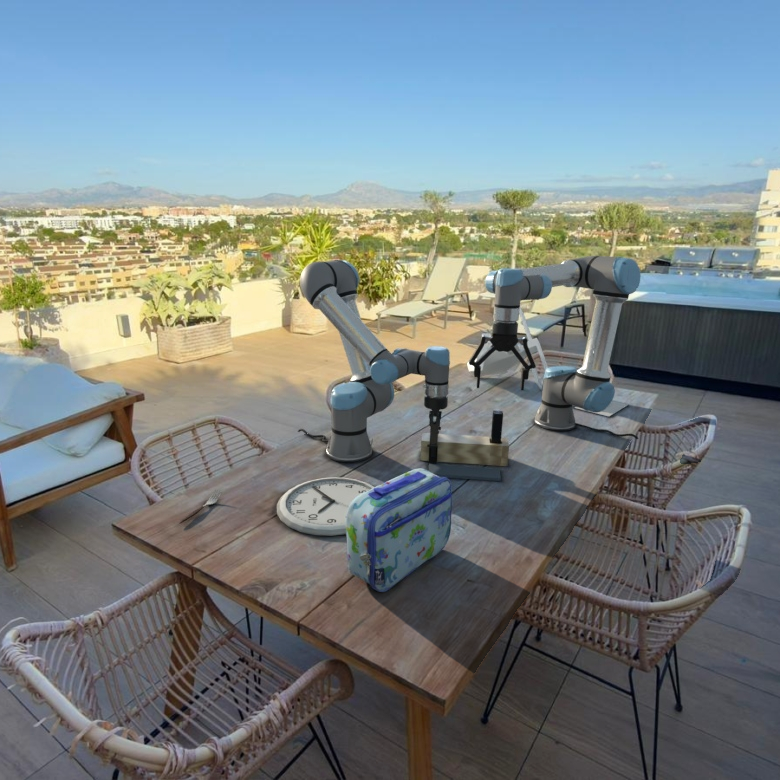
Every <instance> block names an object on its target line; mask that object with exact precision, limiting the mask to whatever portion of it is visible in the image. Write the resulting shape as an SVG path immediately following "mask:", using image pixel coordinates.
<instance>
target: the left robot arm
mask: <svg viewBox="0 0 780 780" xmlns="http://www.w3.org/2000/svg"><path fill="white" fill-rule="evenodd" d="M359 283H360V275H359V272H358V270H357V269H356V267H355V266H354V265H353V264H352V263H350V262H349V261H347V260H341V259H334V260H325V261H324V260H323V261H313V262H310V263H309V264H307V265H306V266H305V267H304V268H303V270H302V271H301V274H300V278H299V286H300V289H301V292H302V294H303V296H304V298H305V300H306V301H307V302H308V303H309V304H310V305H311V307H312V308H313V309H315V310H319V311H320V312H321V313H322V314H323V315H324V316H325V318H326V319H327V320H328V321H329V322H330V323H331V324H332V325H333V327H334V328H335V329H336V330H337V332H338V333H339V336H340V340H341V343H342V346H343V349H344V352H345V355H346V358H347V362H348V365H349V368H350V371H351V374H352V375H351V378H350V380H349V381H348V382H343V383H340V384H337V385H336V386H334V387H333V389H332V390H331V394H330V418H331V432H330V436H329V438H328V439H326V438H327V437H326V436H325V435H324V434H316V435H313V434H311V433H309V432H308V431H307V430H305V429H304V428H299V429H298V430H297V432H298V433H300V432H303V433H304V434H305V435H306V436H308V437H309V438H313V439H315V438H322V439H321V441H322V442H323V443H327V445H326V451H325V452H326V456H327V458H329V459H330V460H332V461H335V462H339V463H348V464H349V463H358V462H362V461H365V460H367V459H369V458H370V457H372V454H373V447H372V445H373V442H374V439H373V438H371V441H370V437H369V435H368V429H367V427H368V418H370V417H372V416H373V415H375V414H377V413H381V412H383V411H385V410H386V409H387V408H389V407H390V406H391V404H392V403H393V401H394V398H395V388H394V385H393V383H394V382H396V381H397V380H399V379H402V378H404V377H406V376H409V375H418V376H424V384H422V388H424V394H425V395H424V396H423V406H424V407H425V408H426V409H428V410H429V411H428V412H429V413H428V419H429V420H428V421H429V423H428V426H429V428H430V429H429V433H430V444H429V445H428V444H427V447H429V461H428V466H429V464H438V462H437V453H438V445H437V442H438V434H440V431H442V426H441V421H442V411H441V410H445V409H446V408H448V401H449V386H450V383H449V378H450V377H449V376H450V365H451V361H450V360H451V359H450V357H451V355H450V354H451V353H450V350H449V349H448V348H447V347H444V346H435V345H433V346H429V347H427V348H426V349H425V351H422V350H421V351H420V350H415V349H409V348H395V349H394V350H393V351H392V352H391V351H389V349H388V348H387V347H386V346H385V345H384V343H382V342H381V341H380V339H379V338H378V337H377V336H376V335H375V333H373V332H372V330H371V329H369V327H368V326H367V325H366V324H365V323H364V321H362V317H361V315H360V312H359V308H358V305H357V302H356V300H357V298H358V296H359V294H358V290H357V289H358V287H359ZM307 433H308V434H307Z"/></svg>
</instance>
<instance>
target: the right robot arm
mask: <svg viewBox="0 0 780 780" xmlns="http://www.w3.org/2000/svg"><path fill="white" fill-rule="evenodd" d="M641 277H642V276H641V268H640V267H639V264H638V262H637V261H636V260H634V259H633V258H630V257H623V256H607V255H605V256H603V255H589V256H583V257H577V258H572V259H566V260H564V261H562V262H561V263H558V264H557V263H555V264H550V265H544V266H543V265H542V266H535V267H526V268H500V269H498V270H492V271H490V272H489V273H488V274H487V275H486V277H485V279H484V280H485V281H484V286H485V289H486V290H487V292H488V293H490V294H494V306H493V317H492V319H493V321H492V327H491V328H492V329H491V337H487V336H485V335H482V334H481V336H480V337H481V338H480V342H479V343H478V345H477V347H476V349H475V350H474V352H473V353H472V355H471V356H470V359H469V360H468V362H469V365H472V366H474V377H473V378H476V389H480V385H481V384H480V383H481V376H480V372H481V366H480V365H481V364H482V363H483V362H484V361H485V360H486V359H487V358H488V357H489V356H490V355H491V354H492V353H493V352H494V351H495V350H497V351H498V352H501V351H505V352H509V351H511V350H512V352H513V353H514V354H515V356H516V357H517V358H518V360H519V361H520V362H519V363H520V364H521V365H522V366H523V367H522V368H521V376H520V384H519V390H520V391H521V392H523V391H525V381H526V380H529V375H530V370H532V368H535V367H536V368H537V366H536V364H535V363H536V362H535V361H534V358H533V355H532V354H531V353H530V351H529V348H528V346H527V341H528V338H527V336H522V337H518V331H519V330H518V329H519V323H518V321H519V320H520V314H519V309H520V308H521V301H534V300H535V301H539V300H543V299H547V297H549V296H550V294H551V293H552V288H555V287H561V286H563V287H565V288H582V289H589V290H592V296H593V298H594V300H595V304H594V307H593V308H594V309H593V313H592V317H591V323H590V327H589V332H588V336H587V337H588V338H587V341H586V346H585V351H584V355H583V360H582V366H581V367H580V368H578V369H577V367H574V366H569V365H568V366H567V365H557V366H550V367H549V366H548V368H547V369H546V370H544V375H543V378H542V379H543V381H542V390H541V391H542V392H541V402H540V405H539V407H538V408H537V411H536V413H535V417H534V424H535V425H536V426H537V427H539V428H542V429H544V430H549V431H556V432H567V431H572V430H574V429H575V428H576V426H577V427H581V428H583V429H584V428H585V429H587V430H592V431H594V432H601V433H608V434H610V435H612V436H614V437H620V438H621V437H623V438H624V437H633V438H634V439H636V440H639V437H638V436H637V435H636V434H634V433H622V434H621V433H620V434H619V433H615V432H613V431H612V430H608V429H603V428H602V429H601V428H596V427H595V428H594V427H591V426H588V425H586V424H582V423H577V422H576V418H575V417H576V416H575V413H574V407H576V406H577V407H579V408H582V409H584V410H586V411H585V412H588V411H591V412H590V413H592V412H601V411H603V410H604V409H606V408H607V407H608V406H609V404H610V403H611V401H614V400H613V399H614V397H615V392H616V389H615V386H614V384H613V383H611V382H610V381H611V379H612V378H611V377H612V376H611V374H610V373H609V365H610V360H611V356H612V352H613V346H614V343H615V338H616V333H617V328H618V325H619V320H620V316H621V312H622V311H621V310H622V306H623V304H624V303H625V302H627V301H628V300H629V297H630V295H632V294H634V293H635V292H636V291H637V289H638V288H639V286H640V283H641ZM488 341H490V342H491V343H492V346H491V347H490V348H489V349H488V350H487V351H486V352H485V353H484V354H483V355H482V356H481V357H480V358H479V359H478V360H477V361H476V362H475V360H476V359H477V356H478V355H479V353H480V351H481V350H482V348H483V346H484V344H486V343H487V342H488ZM517 343H520V344H521V345H523V347H524V350H525V352H526V355H527V356H526V357H527V360H528V363H527V361H526V360H525V358H524V359H523V358H522V356H521V355H520V354H519V352H518V351H517V350H516V348H515V347H514V346H515V345H516V344H517ZM531 355H532V356H531ZM529 362H530V363H529ZM573 406H574V407H573ZM584 410H583V411H584Z"/></svg>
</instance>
